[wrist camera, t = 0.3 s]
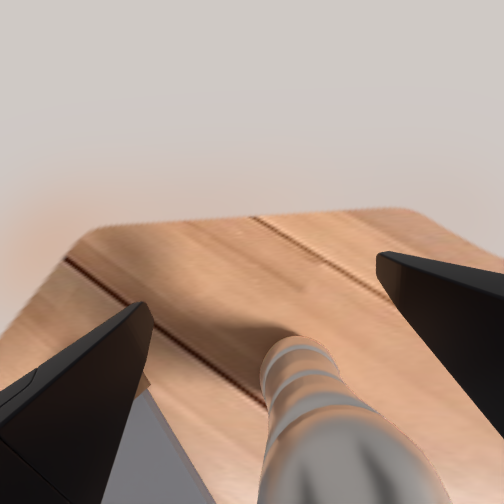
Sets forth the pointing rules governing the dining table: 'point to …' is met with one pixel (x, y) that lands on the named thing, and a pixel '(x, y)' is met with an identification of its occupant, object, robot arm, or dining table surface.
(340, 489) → the plastic bottle
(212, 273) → the dining table surface
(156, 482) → the mat
